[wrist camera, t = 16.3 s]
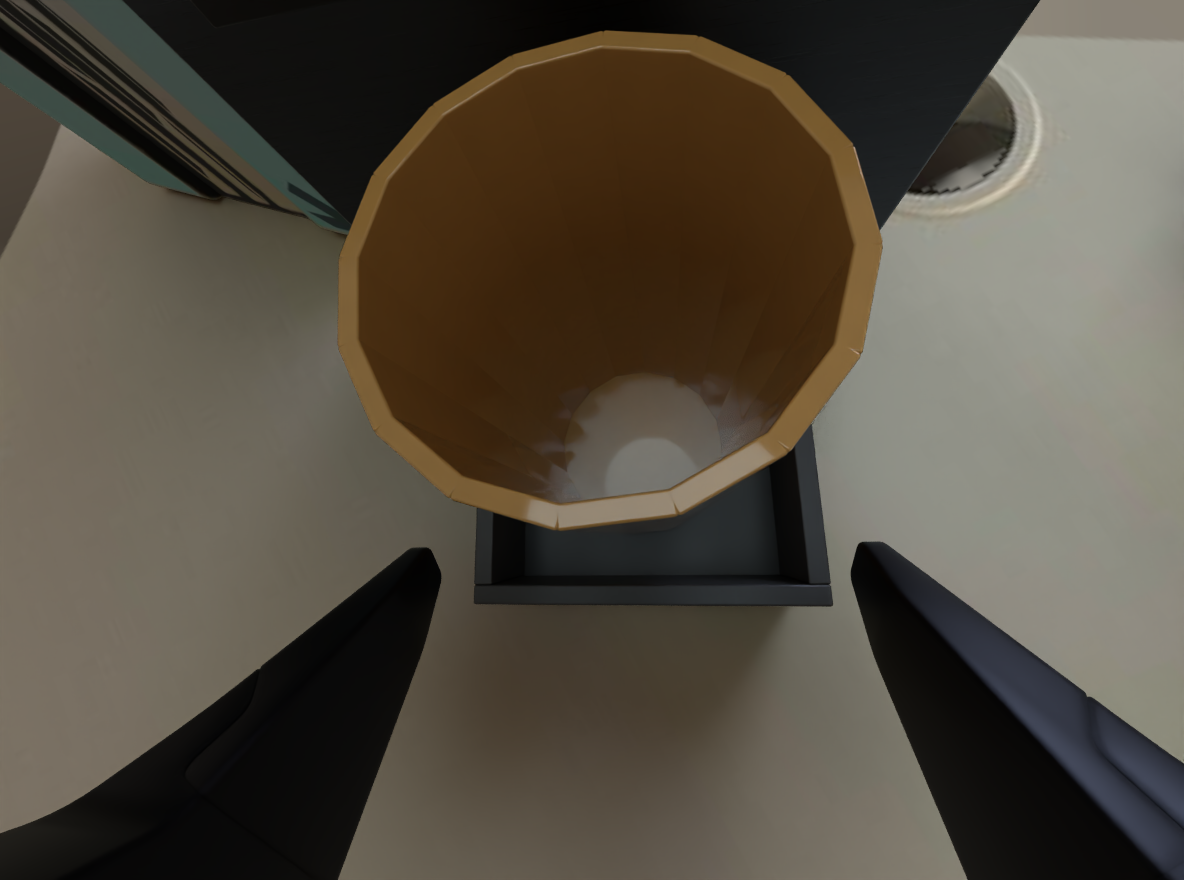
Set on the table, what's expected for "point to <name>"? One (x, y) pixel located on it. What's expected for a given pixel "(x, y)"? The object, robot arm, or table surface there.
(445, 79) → the coffee maker tower
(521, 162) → the cup
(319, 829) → the robot arm
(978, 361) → the table surface
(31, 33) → the device
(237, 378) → the table surface
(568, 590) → the basket
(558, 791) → the table surface
